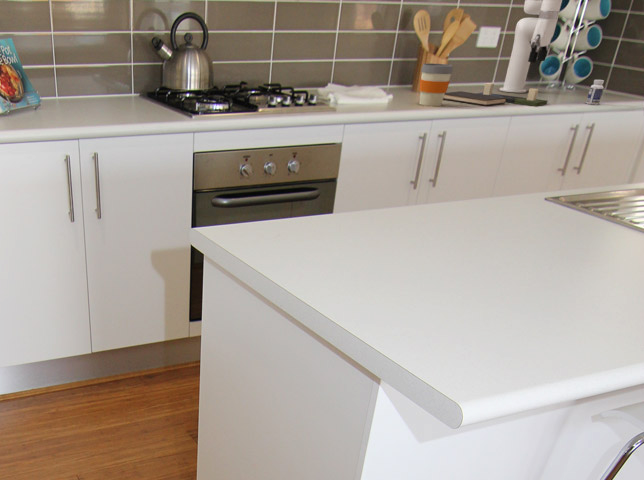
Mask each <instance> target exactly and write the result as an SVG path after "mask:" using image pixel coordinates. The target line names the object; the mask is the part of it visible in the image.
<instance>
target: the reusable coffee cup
mask: <svg viewBox="0 0 644 480" xmlns="http://www.w3.org/2000/svg"><path fill="white" fill-rule="evenodd" d="M453 68H454V65H452V64H446V63H445V64H444V63H432V62H431V63H429V62H428V63H423V64H422V67H421V71H420V72H421V76H420V77H421V78H420V79H419V105H422V106H427V107H428V106H429V107H441V106H442V104H443V100H444V99H443V97H444V94H445V93H447V91H448V88H449V85H450V78H451V75H452V74H453Z"/></svg>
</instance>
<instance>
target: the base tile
mask: <svg viewBox="0 0 644 480" xmlns="http://www.w3.org/2000/svg"><path fill="white" fill-rule="evenodd" d="M500 95H501V96H504V98H506V102H505V103H507V104H514V101H515V100H516V99H514V98H521V99H522V98H524V97H523V96H514V95H507V94H500ZM497 97H498V96H497Z"/></svg>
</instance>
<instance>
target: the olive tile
mask: <svg viewBox="0 0 644 480" xmlns="http://www.w3.org/2000/svg"><path fill="white" fill-rule="evenodd" d="M538 93H539V88H532V87H531V88H529V89H528V93H527V96H526V97H523V98H522V99H521V98H514V99H516V100H515V101H514V103H513V104H515V105H522V106H529V107H539V106H546V105H547V104H548V100H546V99H539V98H538Z"/></svg>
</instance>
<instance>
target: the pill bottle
mask: <svg viewBox="0 0 644 480" xmlns="http://www.w3.org/2000/svg"><path fill="white" fill-rule="evenodd" d="M604 82H605V80H603V79H594V80H593V84H591V86H590V87H589V90H588V94H587V96H586V97H587V98H586V101H585V104H587V105H596V106H597V105H599V104H600V101H601V98H602V95H603V91H604Z"/></svg>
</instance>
